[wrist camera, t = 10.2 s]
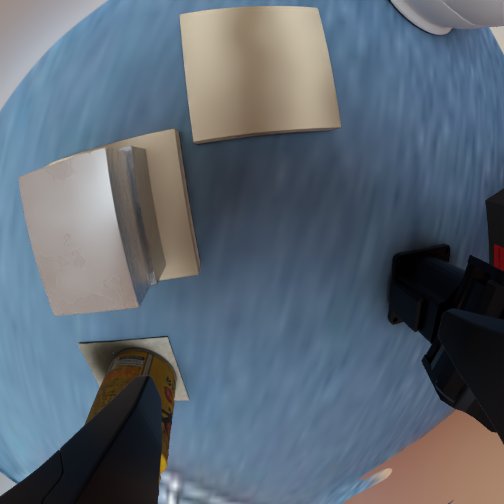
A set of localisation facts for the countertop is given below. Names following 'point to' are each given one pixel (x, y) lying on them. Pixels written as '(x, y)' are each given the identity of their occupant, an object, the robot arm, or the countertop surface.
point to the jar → (452, 14)
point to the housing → (94, 230)
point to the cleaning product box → (496, 229)
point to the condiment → (136, 364)
